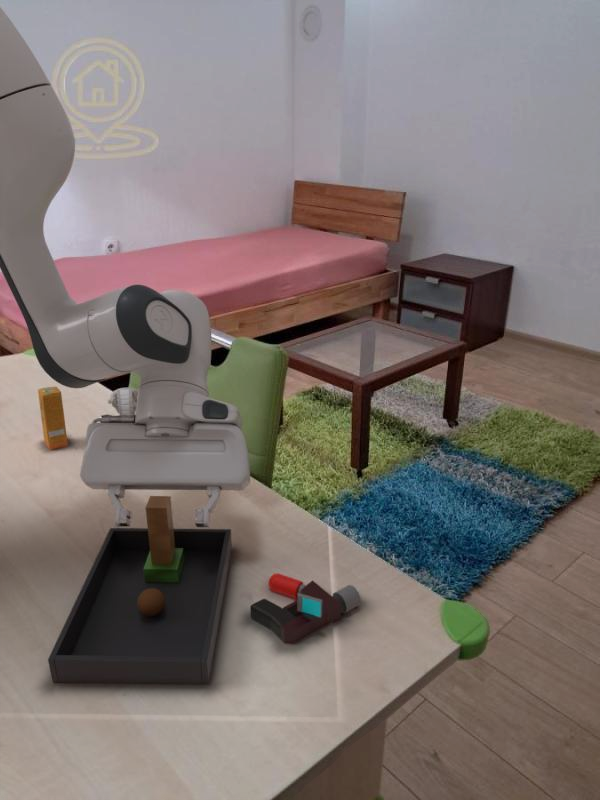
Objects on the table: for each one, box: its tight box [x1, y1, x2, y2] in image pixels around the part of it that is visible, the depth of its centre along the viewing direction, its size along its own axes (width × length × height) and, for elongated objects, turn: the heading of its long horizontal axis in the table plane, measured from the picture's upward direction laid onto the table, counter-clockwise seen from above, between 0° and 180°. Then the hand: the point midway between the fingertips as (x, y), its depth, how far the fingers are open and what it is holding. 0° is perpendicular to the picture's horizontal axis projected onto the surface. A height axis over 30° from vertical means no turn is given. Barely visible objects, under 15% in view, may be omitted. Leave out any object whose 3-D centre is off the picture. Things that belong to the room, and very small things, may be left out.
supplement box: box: [37, 386, 69, 451], centre depth 105 cm, size 3×3×10 cm
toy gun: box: [249, 573, 361, 645], centre depth 71 cm, size 10×12×5 cm
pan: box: [47, 527, 233, 686], centre depth 71 cm, size 15×21×4 cm
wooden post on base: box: [143, 495, 184, 583], centre depth 75 cm, size 4×4×10 cm
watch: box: [107, 387, 138, 415], centre depth 103 cm, size 6×8×11 cm
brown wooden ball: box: [137, 588, 165, 617], centre depth 70 cm, size 3×3×3 cm
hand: (162, 526), depth 74 cm, fingers open, 8 cm apart
